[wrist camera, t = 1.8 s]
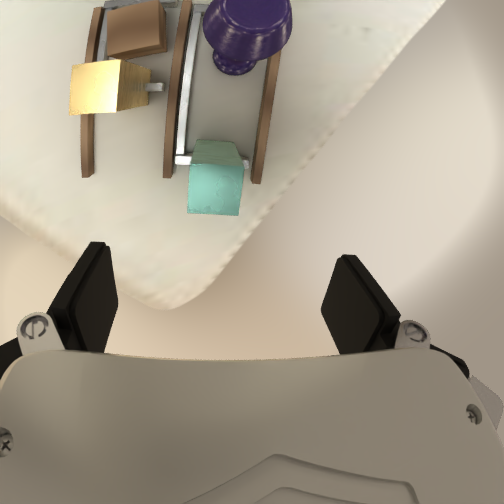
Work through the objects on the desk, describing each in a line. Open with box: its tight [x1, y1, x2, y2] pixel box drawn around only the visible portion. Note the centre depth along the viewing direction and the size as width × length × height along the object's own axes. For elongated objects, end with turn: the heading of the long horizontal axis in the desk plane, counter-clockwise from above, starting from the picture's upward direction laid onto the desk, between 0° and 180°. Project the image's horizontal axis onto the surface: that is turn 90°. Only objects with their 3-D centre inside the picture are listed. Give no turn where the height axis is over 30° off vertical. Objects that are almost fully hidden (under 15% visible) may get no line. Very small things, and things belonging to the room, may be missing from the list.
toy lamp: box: [203, 0, 292, 75], centre depth 15 cm, size 5×5×17 cm
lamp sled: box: [175, 4, 249, 216], centre depth 20 cm, size 17×7×10 cm, turn 172°
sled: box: [69, 0, 178, 115], centre depth 16 cm, size 11×7×10 cm, turn 172°
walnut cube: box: [107, 0, 167, 60], centre depth 18 cm, size 4×4×4 cm
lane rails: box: [81, 0, 281, 184], centre depth 22 cm, size 18×18×2 cm
